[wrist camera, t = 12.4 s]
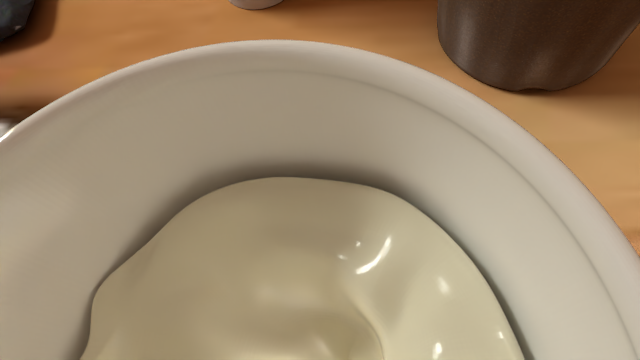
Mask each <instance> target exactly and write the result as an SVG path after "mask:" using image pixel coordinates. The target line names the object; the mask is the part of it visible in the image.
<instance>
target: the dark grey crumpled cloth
mask: <svg viewBox="0 0 640 360" xmlns="http://www.w3.org/2000/svg"><path fill="white" fill-rule="evenodd" d="M33 5H34V0H0V42H2V41H3V40H4V38H5V37H9V36H11V35H13V34H16V33H17V32H18V31H20V30H22V29H24V28H25V25H26V22H27V18H28V16H29V13H30V12H31V10H32V7H33Z"/></svg>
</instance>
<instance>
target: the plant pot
mask: <svg viewBox="0 0 640 360" xmlns="http://www.w3.org/2000/svg"><path fill="white" fill-rule="evenodd" d="M639 23H640V0H438V13H437V27H438V36H439V41H440V43H441V46H442V48H443V50H444V51H445V53H446V54H447V56H448V57H449V58H450V59H451V60H452V61H453V62H454V63H455V64H456V65H457V66H458V67H459V68H460V69H462V70H463V71H464V72H466V73H467V74H469V75H470V76H472V77H474V78H475V79H477V80H479V81H481V82H483V83H486V84H489V85H491V86H494V87H498V88H502V89H506V90H510V91H519V90H523V89H528V88H540V89H545V90H547V91H555V90H559V89H563V88H567V87H570V86H573V85H576V84H578V83H580V82H582V81H584V80H586V79H587V78H589V77H591V76H592V75H594V74H595V73H596V72H598V71H599V70H600V69H601V68H602V67H603V66H604V65H605V64H606V63H607V62H608V61H609V60H610V58H611V57H612V56H613V55H614V54H615V53H616V51H617V50H618V49H619V48H620V46H621V45H622V44H623V42H624V41H625V40H626V39H627V38H628V36H629V35H630V34H631V33H632V31H633V30H634V29H635V28H636V27H637V25H638V24H639Z"/></svg>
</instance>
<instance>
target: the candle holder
mask: <svg viewBox="0 0 640 360" xmlns="http://www.w3.org/2000/svg"><path fill="white" fill-rule="evenodd" d="M0 360H640V257H639V255H638V254H637V252H636V251H635V249H634V248H633V246H632V245H631V243H630V242H629V240H628V239H627V238H626V236H625V235H624V233H623V232H622V231H621V229H620V228H619V226H618V225H617V224H616V222H615V221H614V220H613V219H612V217H611V216H610V215H609V213H608V212H607V211H606V210H605V208H604V207H603V206H602V205H601V203H600V202H599V201H598V200H597V199H596V197H595V196H594V195H593V194H592V193H591V192H590V191H589V189H588V188H587V187H586V186H585V185H584V184H583V183H582V182H581V181H580V179H579V178H578V177H577V176H576V175H575V174H574V173H573V172H572V171H571V170H570V169H569V168H568V167H567V166H566V165H565V164H564V163H563V162H562V161H561V160H560V159H559V158H558V157H557V156H556V155H554V154H553V153H552V152H551V151H550V150H549V149H548V148H547V147H546V146H545V145H543V144H542V143H541V142H540V141H539V140H538V139H536V138H535V137H534V136H533V135H532V134H530V133H529V132H528V131H527V130H525V129H524V128H523V127H522V126H520V125H519V124H518V123H516V122H515V121H514V120H512V119H511V118H509V117H508V116H507V115H505V114H504V113H502V112H501V111H499V110H498V109H497V108H495V107H494V106H492V105H490V104H489V103H487V102H486V101H484V100H483V99H481V98H479V97H478V96H476V95H474V94H472V93H471V92H469V91H467V90H465V89H464V88H462V87H460V86H458V85H456V84H454V83H452V82H450V81H448V80H446V79H444V78H442V77H440V76H438V75H435V74H433V73H431V72H429V71H426V70H424V69H421V68H419V67H416V66H414V65H411V64H409V63H406V62H403V61H400V60H397V59H394V58H391V57H388V56H384V55H381V54H377V53H374V52H370V51H366V50H362V49H357V48H352V47H347V46H342V45H336V44H329V43H322V42H313V41H301V40H248V41H236V42H226V43H219V44H212V45H206V46H200V47H195V48H190V49H186V50H181V51H177V52H173V53H169V54H166V55H162V56H159V57H155V58H152V59H149V60H146V61H143V62H140V63H137V64H134V65H131V66H128V67H126V68H123V69H121V70H118V71H115V72H113V73H111V74H108V75H106V76H104V77H101V78H99V79H97V80H95V81H93V82H90V83H88V84H86V85H84V86H82V87H80V88H78V89H76V90H74V91H72V92H70V93H69V94H67V95H65V96H63V97H61V98H59V99H58V100H56V101H54V102H52V103H51V104H49V105H47V106H46V107H44V108H42V109H41V110H39V111H37V112H36V113H34V114H33V115H31V116H30V117H28V118H27V119H25V120H24V121H22V122H21V123H19V124H18V125H16V126H15V127H13V128H12V129H10V130H9V131H8V132H6V133H5V134H3V135H2V136H1V137H0Z"/></svg>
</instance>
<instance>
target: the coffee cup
mask: <svg viewBox="0 0 640 360" xmlns="http://www.w3.org/2000/svg"><path fill="white" fill-rule="evenodd" d="M229 1H230V2H231V3H232V4H233V5H235V6H237V7H240V8H243V9H251V10H255V9H263V8H268V7H271V6H273V5H276V4H278V3H280V2H281V1H283V0H229Z"/></svg>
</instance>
